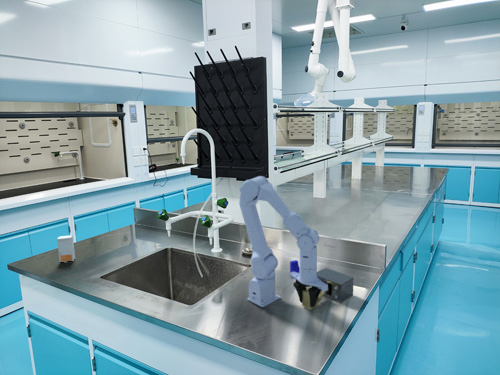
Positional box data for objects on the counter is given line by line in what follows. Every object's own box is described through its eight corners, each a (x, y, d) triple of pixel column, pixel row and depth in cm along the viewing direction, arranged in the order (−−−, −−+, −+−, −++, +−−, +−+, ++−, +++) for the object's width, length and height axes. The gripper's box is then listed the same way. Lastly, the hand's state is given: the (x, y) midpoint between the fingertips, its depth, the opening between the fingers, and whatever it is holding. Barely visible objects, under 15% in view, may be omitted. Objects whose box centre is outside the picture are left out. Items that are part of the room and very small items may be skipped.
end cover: (313, 310, 115) (313, 294, 114) (300, 304, 119) (300, 289, 118) (331, 299, 122) (331, 284, 121) (318, 294, 126) (318, 279, 125)
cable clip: (315, 284, 135) (315, 270, 134) (305, 286, 134) (305, 272, 132) (299, 272, 146) (299, 259, 145) (290, 274, 144) (290, 261, 143)
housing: (339, 303, 120) (340, 285, 119) (311, 292, 129) (311, 274, 128) (353, 295, 126) (353, 277, 125) (325, 284, 135) (325, 267, 133)
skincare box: (59, 263, 162) (56, 239, 160) (61, 260, 166) (58, 236, 164) (73, 261, 164) (70, 237, 161) (75, 258, 168) (72, 234, 165)
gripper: (333, 268, 112) (332, 307, 115) (298, 257, 123) (298, 292, 125) (320, 275, 108) (320, 315, 110) (285, 262, 118) (285, 299, 121)
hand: (307, 303), depth 118 cm, fingers closed on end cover, 4 cm apart
